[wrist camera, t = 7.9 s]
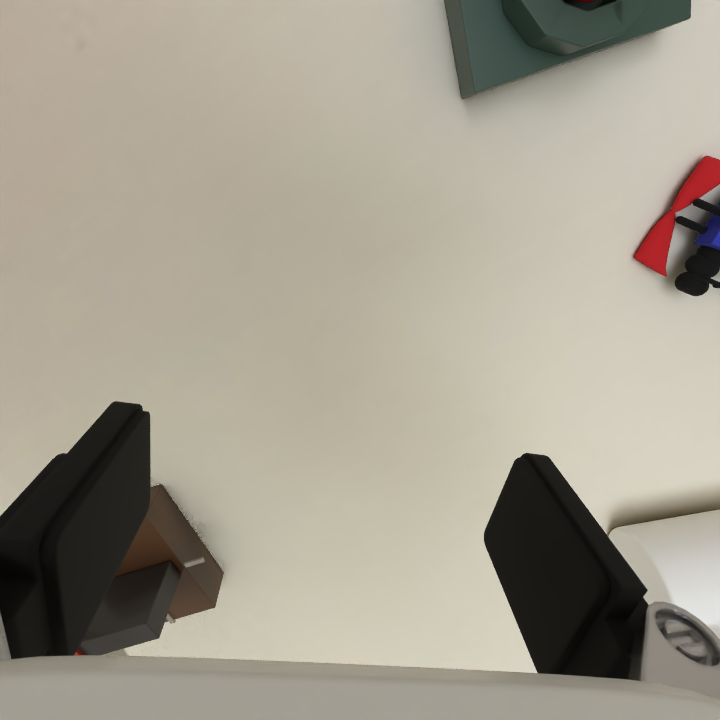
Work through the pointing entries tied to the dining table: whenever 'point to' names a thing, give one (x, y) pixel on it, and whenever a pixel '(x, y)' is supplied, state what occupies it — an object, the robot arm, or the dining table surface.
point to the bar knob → (132, 610)
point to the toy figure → (714, 237)
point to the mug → (677, 562)
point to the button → (585, 0)
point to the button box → (544, 34)
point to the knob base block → (174, 556)
